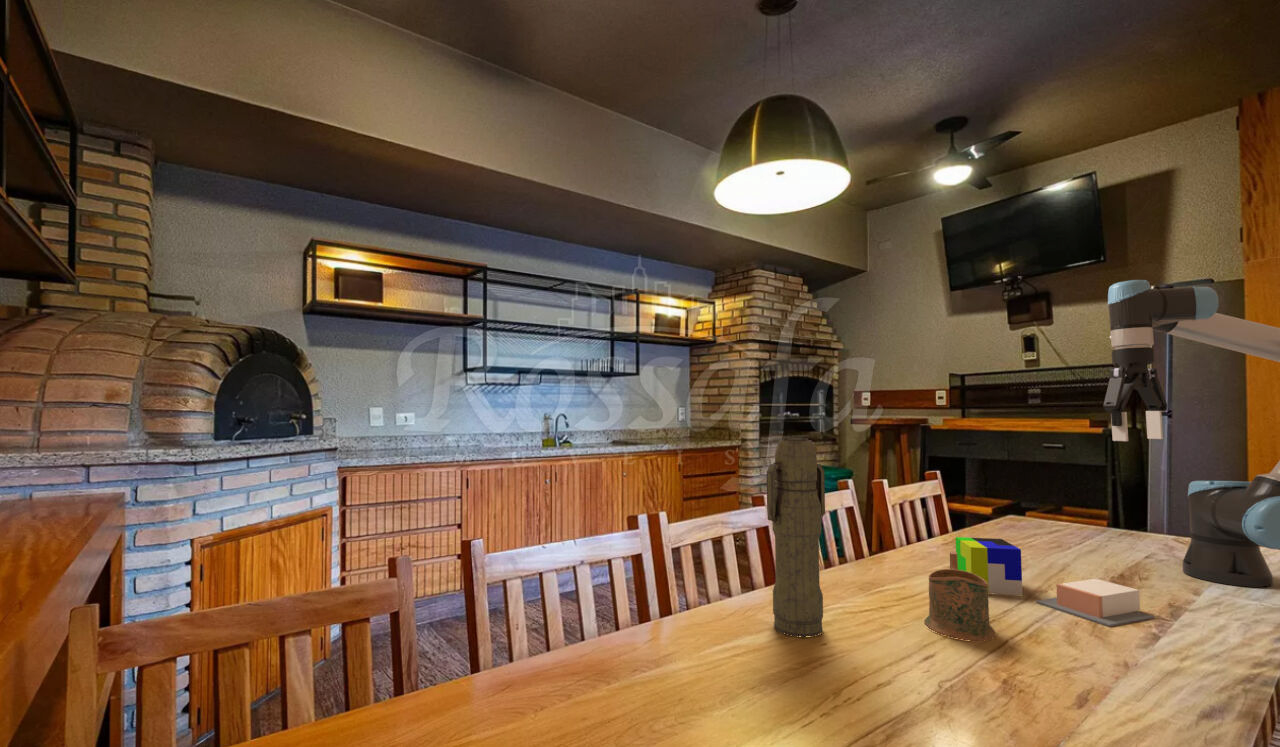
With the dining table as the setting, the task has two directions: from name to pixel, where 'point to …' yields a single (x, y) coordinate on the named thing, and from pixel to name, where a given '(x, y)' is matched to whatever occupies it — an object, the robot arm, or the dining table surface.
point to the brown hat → (959, 604)
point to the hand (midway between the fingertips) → (1138, 440)
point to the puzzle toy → (992, 563)
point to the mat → (1106, 621)
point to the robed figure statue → (796, 536)
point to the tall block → (1098, 597)
